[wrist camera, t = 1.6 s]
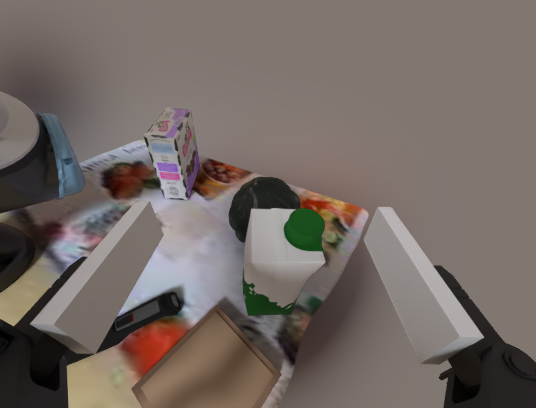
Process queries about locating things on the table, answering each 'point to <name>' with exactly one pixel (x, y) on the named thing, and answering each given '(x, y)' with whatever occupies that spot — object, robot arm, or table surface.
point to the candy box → (174, 152)
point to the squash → (259, 201)
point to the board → (209, 370)
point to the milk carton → (280, 258)
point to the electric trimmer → (133, 322)
